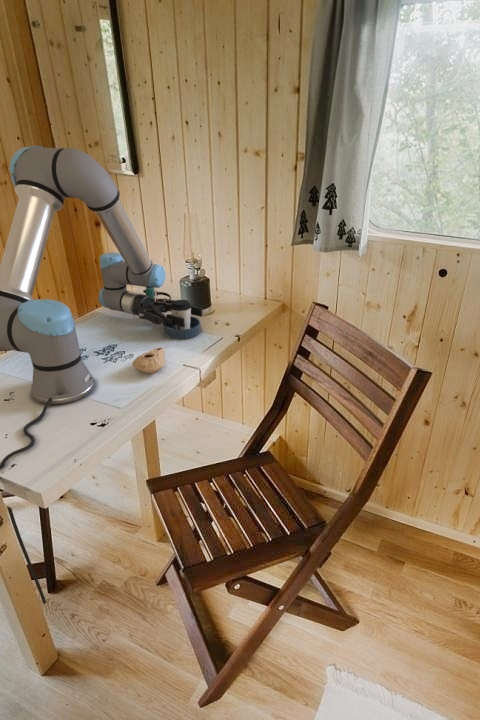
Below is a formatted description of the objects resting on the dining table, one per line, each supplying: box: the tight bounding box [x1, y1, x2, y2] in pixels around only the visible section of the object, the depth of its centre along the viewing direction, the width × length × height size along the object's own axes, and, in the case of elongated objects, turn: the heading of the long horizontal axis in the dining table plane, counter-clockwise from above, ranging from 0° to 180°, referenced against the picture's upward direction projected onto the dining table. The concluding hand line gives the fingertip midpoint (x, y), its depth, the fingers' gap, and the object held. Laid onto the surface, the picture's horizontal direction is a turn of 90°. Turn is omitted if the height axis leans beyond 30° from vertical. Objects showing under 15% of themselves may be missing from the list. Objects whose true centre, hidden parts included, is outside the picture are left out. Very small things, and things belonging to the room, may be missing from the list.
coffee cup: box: [170, 299, 193, 330], centre depth 154 cm, size 7×7×10 cm
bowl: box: [163, 315, 202, 340], centre depth 156 cm, size 12×12×4 cm
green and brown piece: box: [142, 287, 172, 310], centre depth 174 cm, size 9×11×10 cm
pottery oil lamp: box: [131, 347, 166, 375], centre depth 134 cm, size 9×12×7 cm
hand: (192, 317), depth 152 cm, fingers open, 9 cm apart
